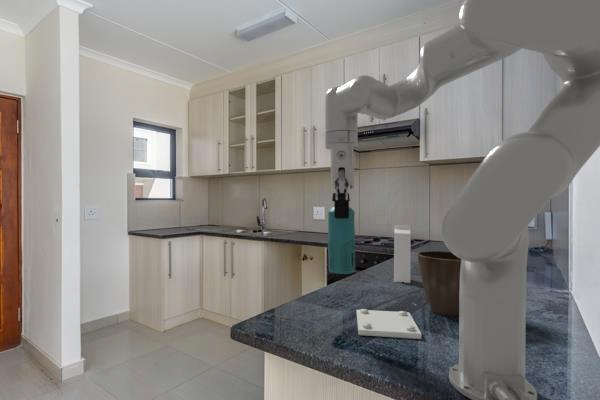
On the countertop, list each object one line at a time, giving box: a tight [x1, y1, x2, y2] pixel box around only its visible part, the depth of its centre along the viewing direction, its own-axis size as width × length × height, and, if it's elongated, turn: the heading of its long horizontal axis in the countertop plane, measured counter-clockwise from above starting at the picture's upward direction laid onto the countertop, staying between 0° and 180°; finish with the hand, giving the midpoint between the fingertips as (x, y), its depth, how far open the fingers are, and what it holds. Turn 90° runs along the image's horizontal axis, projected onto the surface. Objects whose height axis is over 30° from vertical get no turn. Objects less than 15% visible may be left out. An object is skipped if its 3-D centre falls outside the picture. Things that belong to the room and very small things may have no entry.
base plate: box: [356, 308, 422, 340], centre depth 80 cm, size 14×14×2 cm
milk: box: [393, 223, 412, 284], centre depth 125 cm, size 6×6×22 cm
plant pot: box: [417, 250, 461, 317], centre depth 91 cm, size 15×15×16 cm
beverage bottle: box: [327, 192, 357, 275], centre depth 75 cm, size 6×7×20 cm
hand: (341, 216), depth 75 cm, fingers closed on beverage bottle, 6 cm apart
